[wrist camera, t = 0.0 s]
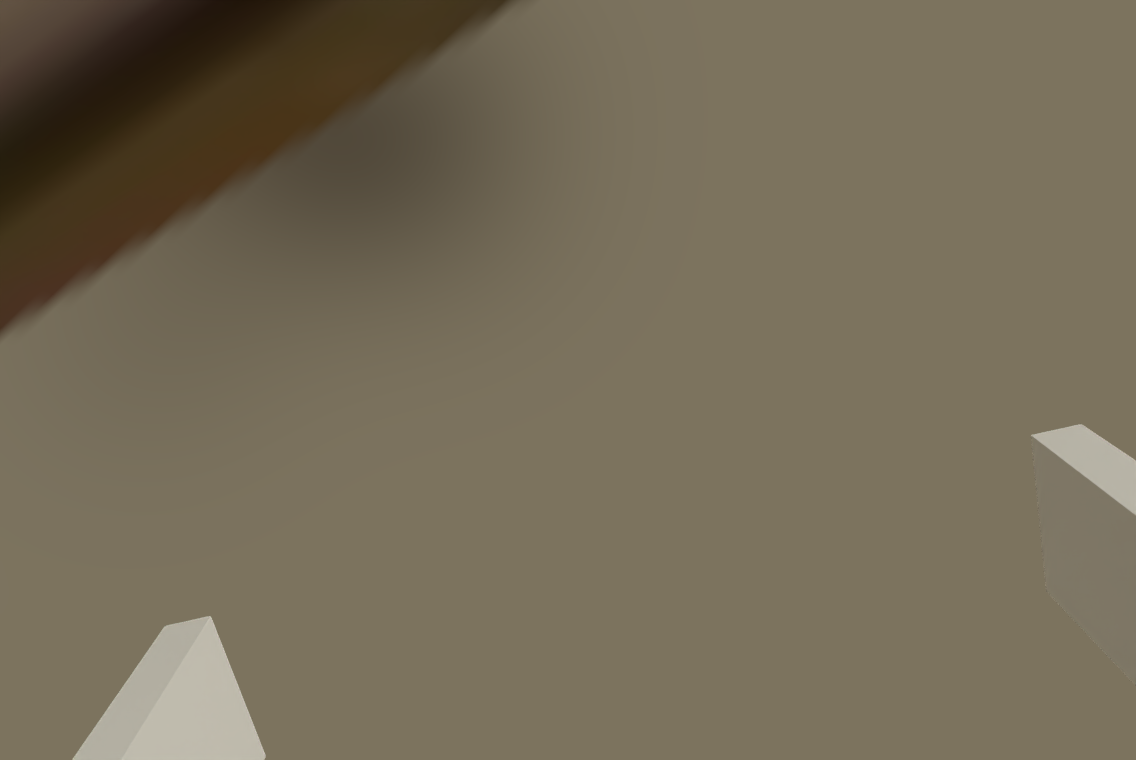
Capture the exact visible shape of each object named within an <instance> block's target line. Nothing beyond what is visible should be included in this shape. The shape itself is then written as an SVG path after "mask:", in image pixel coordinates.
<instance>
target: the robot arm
mask: <svg viewBox="0 0 1136 760" xmlns="http://www.w3.org/2000/svg"><path fill="white" fill-rule="evenodd" d="M1031 439H1032V450H1033V460H1034V470H1035V480H1036V491H1037V501H1038V510H1039V521H1040V532H1041V542H1042V552H1043V561H1044V571H1045V582H1046V591H1047V592H1048V593H1049V595H1050V596H1051V597H1052V598H1053V599H1054V600H1055V601H1056V602H1057V603H1058V604H1059V605H1060V606H1061V607H1062V608H1063V609H1064V610H1065V611H1066V612H1067V614H1068V615H1069V616H1070V617H1071V618H1072V619H1073V620H1074V621H1075V622H1076V623H1077V624H1078V625H1079V626H1080V627H1081V628H1082V629H1083V630H1084V632H1085V633H1086V634H1087V635H1088V636H1089V637H1090V638H1091V639H1092V640H1093V641H1094V642H1095V643H1096V644H1097V645H1098V646H1099V647H1100V648H1101V650H1103V652H1104V653H1105V654H1106V655H1107V656H1108V657H1109V658H1110V659H1111V660H1112V661H1113V662H1114V663H1115V664H1116V665H1117V666H1118V667H1119V669H1120V670H1121V671H1122V672H1123V673H1124V674H1125V675H1126V676H1127V677H1128V678H1129V679H1130V680H1131V681H1132V682H1133V683H1134V684H1135V685H1136V461H1135V460H1134V459H1132V458H1131V457H1130V456H1128V455H1127V454H1125V453H1124V452H1122V451H1121V450H1119V449H1118V448H1116V447H1114V446H1113V445H1112V444H1110V443H1109V442H1107V441H1106V440H1104V439H1103V438H1101V437H1100V436H1098V435H1097V434H1095V433H1094V432H1092V431H1091V430H1089V429H1088V428H1086V427H1085V426H1083V425H1082V424H1080V425H1075V426H1071V427H1066V428H1062V429H1057V430H1052V431H1048V432H1043V433H1039V434H1034V435H1031ZM265 757H266V755H265V753H264V750H263V748H262V745H261V743H260V740H259V738H258V735H257V733H256V730H255V727H254V725H253V723H252V720H251V718H250V715H249V712H248V710H247V708H246V705H245V702H244V700H243V697H242V695H241V692H240V689H239V687H238V684H237V682H236V679H235V677H234V674H233V672H232V669H231V667H230V664H229V661H228V659H227V656H226V654H225V651H224V649H223V646H222V644H221V641H220V639H219V636H218V634H217V631H216V628H215V626H214V623H213V621H212V618H211V616H208V617H203V618H199V619H194V620H190V621H185V622H181V623H177V624H172V625H167V626H165V627H164V628H163V630H162V631H161V633H160V634H159V636H158V637H157V638H156V640H155V641H154V643H153V644H152V645H151V647H150V648H149V650H148V651H147V653H146V654H145V656H144V657H143V658H142V660H141V661H140V663H139V664H138V666H137V667H136V669H135V670H134V671H133V673H132V674H131V676H130V677H129V679H128V680H127V682H126V683H125V685H124V686H123V687H122V689H121V690H120V692H119V693H118V694H117V696H116V697H115V699H114V700H113V702H112V703H111V705H110V706H109V708H108V709H107V710H106V712H105V713H104V715H103V716H102V718H101V719H100V720H99V722H98V723H97V725H96V726H95V728H94V729H93V731H92V732H91V733H90V735H89V736H88V738H87V739H86V741H85V742H84V744H83V745H82V746H81V748H80V749H79V751H78V752H77V754H76V755H75V757H74V758H73V759H72V760H264V759H265Z"/></svg>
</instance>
